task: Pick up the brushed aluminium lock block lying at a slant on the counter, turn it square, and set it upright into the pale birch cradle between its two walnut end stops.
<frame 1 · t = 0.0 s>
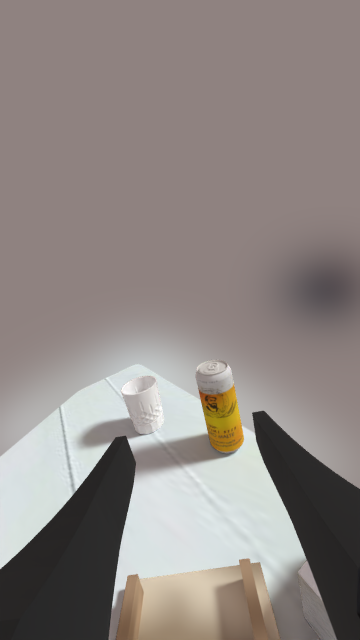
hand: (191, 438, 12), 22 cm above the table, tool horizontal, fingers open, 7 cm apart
beer can: (227, 442, 38), on the table
white cup: (150, 424, 48), on the table
aluminium lock block: (354, 606, 18), on the table
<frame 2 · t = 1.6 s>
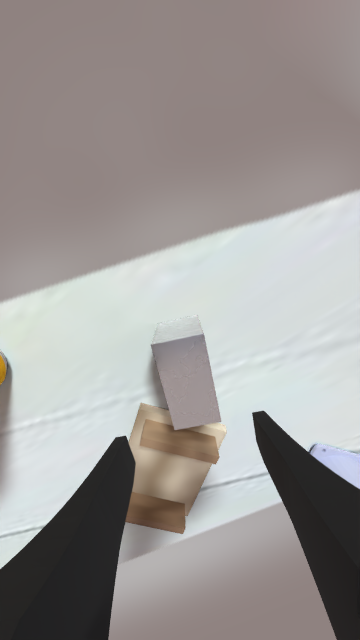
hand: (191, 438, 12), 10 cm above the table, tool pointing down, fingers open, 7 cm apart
birch cradle: (166, 459, 26), on the table
aluminium lock block: (186, 354, 22), on the table
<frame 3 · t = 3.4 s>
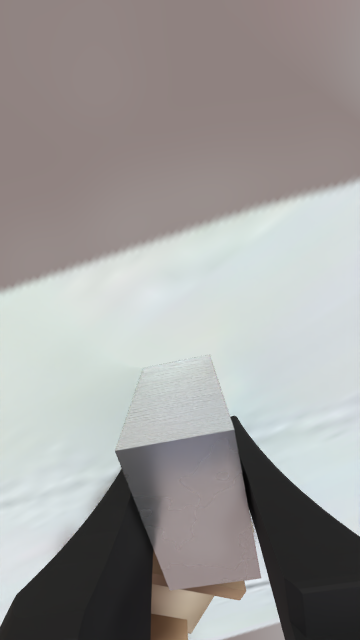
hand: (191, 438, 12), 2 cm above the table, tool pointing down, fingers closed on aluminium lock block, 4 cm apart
birch cradle: (159, 558, 17), on the table
aluminium lock block: (190, 417, 13), on the table, touching gripper
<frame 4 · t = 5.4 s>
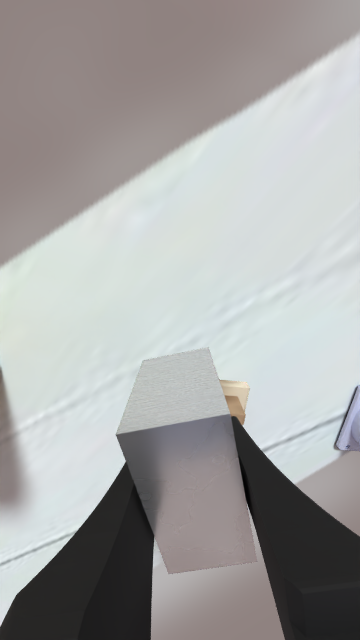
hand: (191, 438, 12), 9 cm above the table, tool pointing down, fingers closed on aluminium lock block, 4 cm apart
birch cradle: (189, 435, 23), on the table
aluminium lock block: (189, 409, 14), point 7 cm above the table, touching gripper
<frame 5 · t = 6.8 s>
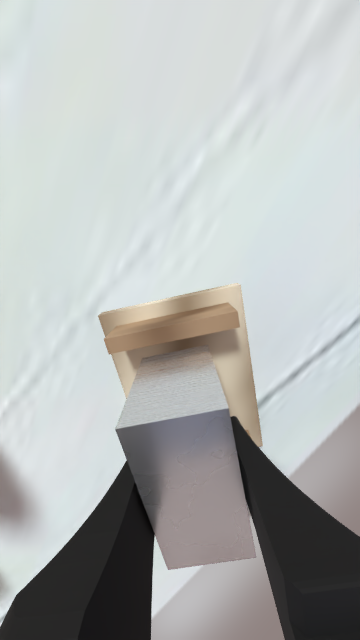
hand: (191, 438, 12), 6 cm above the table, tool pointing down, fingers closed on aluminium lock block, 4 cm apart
birch cradle: (188, 380, 17), on the table
aluminium lock block: (188, 406, 14), point 4 cm above the table, touching gripper
when the fingers open (4 cm above the table, at t = 7.6 s): aluminium lock block stays where it is, resting on birch cradle.
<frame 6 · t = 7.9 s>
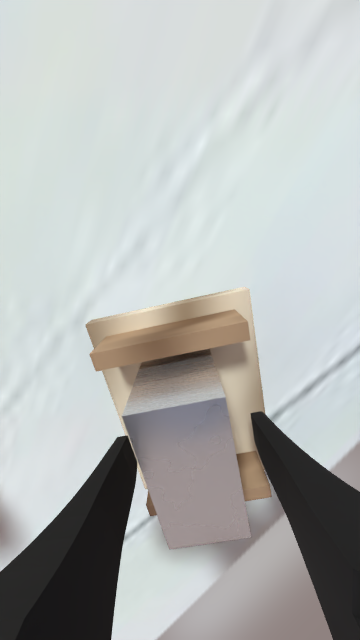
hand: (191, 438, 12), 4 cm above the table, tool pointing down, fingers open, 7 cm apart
birch cradle: (188, 395, 15), on the table
aluminium lock block: (188, 400, 14), point 1 cm above the table, touching birch cradle
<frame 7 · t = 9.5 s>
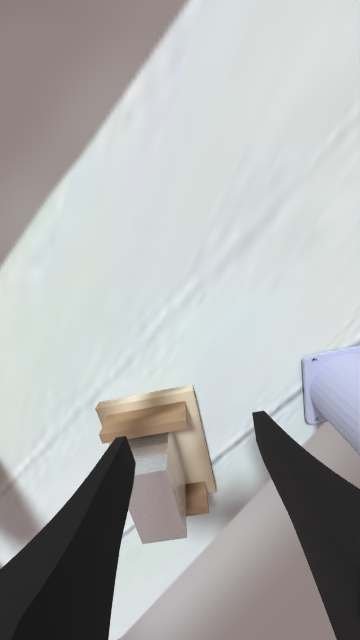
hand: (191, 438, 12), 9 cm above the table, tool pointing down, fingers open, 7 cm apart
birch cradle: (161, 445, 24), on the table
aluminium lock block: (159, 450, 23), point 1 cm above the table, touching birch cradle
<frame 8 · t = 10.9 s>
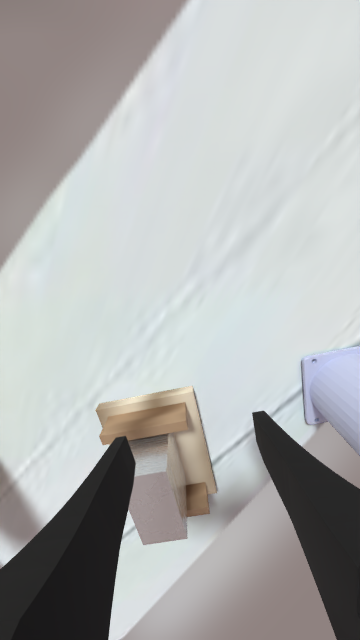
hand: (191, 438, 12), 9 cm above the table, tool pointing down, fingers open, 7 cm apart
birch cradle: (161, 446, 24), on the table
aluminium lock block: (159, 452, 23), point 1 cm above the table, touching birch cradle
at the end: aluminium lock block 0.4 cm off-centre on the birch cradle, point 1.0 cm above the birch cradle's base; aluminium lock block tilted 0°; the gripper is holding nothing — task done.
